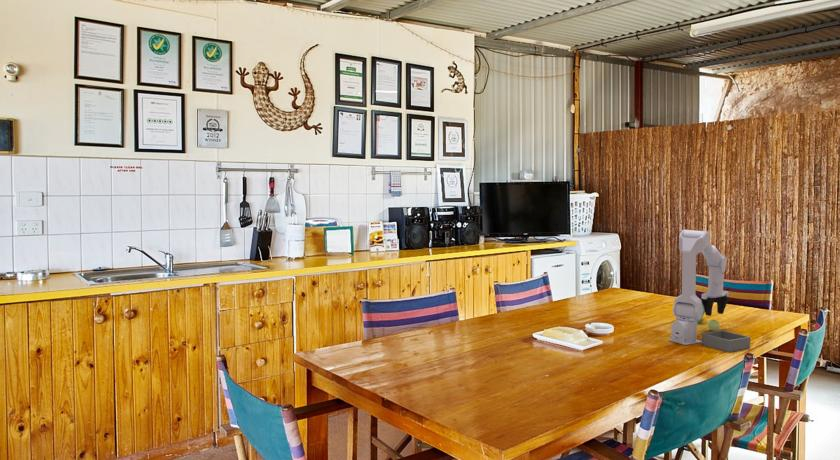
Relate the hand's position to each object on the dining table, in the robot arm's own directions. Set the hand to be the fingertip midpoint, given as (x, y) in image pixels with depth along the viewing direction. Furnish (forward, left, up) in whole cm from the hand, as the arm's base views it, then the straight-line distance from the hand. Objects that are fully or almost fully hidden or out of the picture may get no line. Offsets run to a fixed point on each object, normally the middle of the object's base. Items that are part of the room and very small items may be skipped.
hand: (714, 314), depth 266 cm
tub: (-18, -19, -7) cm, 27 cm away
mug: (+8, +15, -7) cm, 18 cm away
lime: (0, 0, -7) cm, 7 cm away
